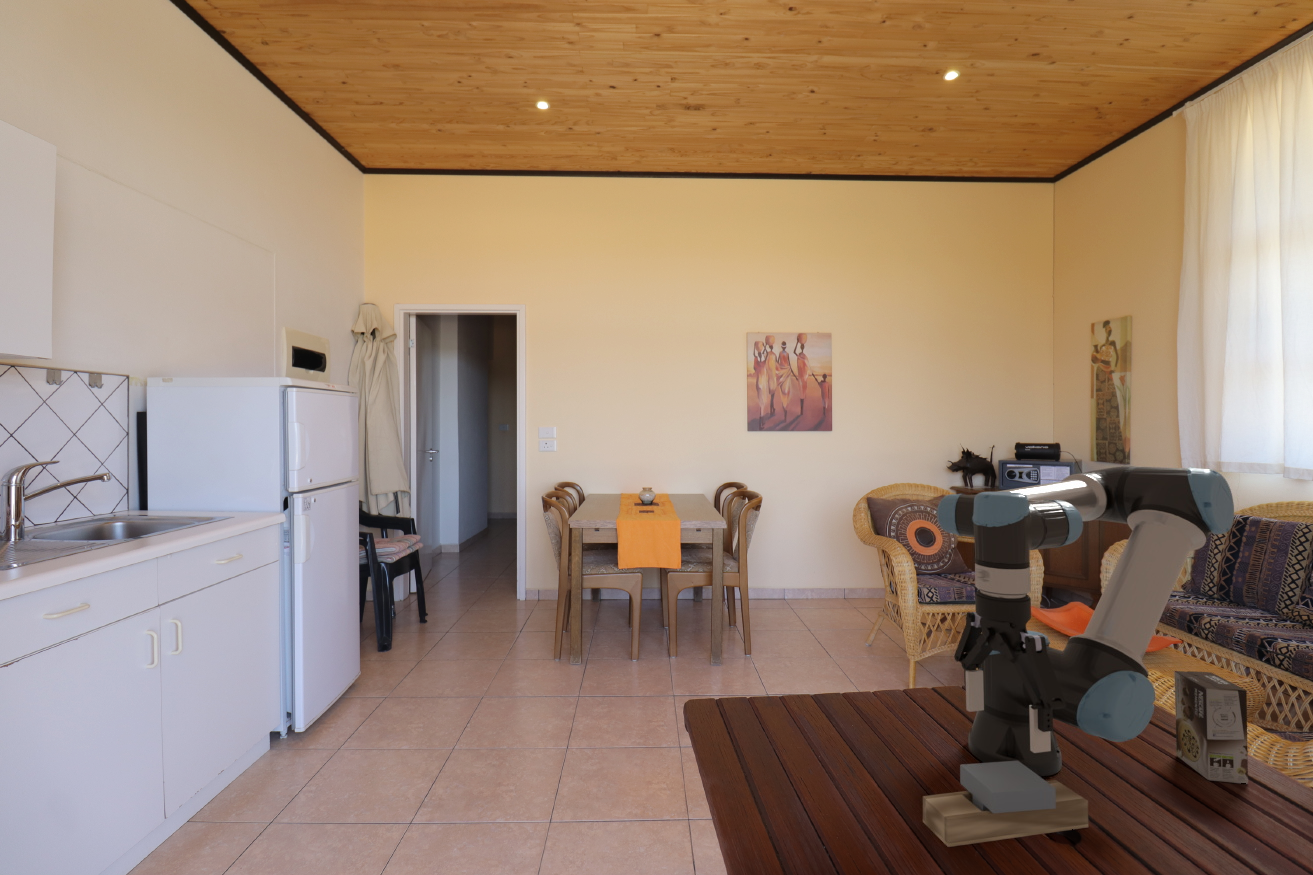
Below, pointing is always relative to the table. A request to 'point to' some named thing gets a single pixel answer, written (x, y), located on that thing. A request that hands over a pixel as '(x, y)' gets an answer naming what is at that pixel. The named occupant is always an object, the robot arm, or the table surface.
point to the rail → (1000, 818)
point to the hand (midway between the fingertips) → (1005, 729)
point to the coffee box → (1211, 726)
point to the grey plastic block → (1006, 787)
